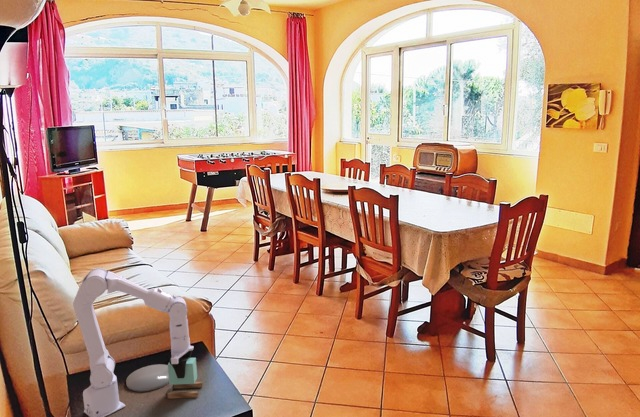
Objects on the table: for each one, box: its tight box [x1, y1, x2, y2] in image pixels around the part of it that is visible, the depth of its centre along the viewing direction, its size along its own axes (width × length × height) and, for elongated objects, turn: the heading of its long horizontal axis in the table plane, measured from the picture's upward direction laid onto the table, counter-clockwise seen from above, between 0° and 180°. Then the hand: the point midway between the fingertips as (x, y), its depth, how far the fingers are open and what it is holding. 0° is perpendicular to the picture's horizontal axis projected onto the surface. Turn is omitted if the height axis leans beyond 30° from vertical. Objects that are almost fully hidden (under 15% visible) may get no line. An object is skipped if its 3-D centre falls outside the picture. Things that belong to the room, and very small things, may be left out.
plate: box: [125, 363, 170, 393], centre depth 159 cm, size 16×16×1 cm
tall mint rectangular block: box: [167, 357, 198, 386], centre depth 149 cm, size 8×4×7 cm, turn 91°
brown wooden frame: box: [164, 381, 204, 400], centre depth 150 cm, size 10×7×2 cm, turn 91°
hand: (183, 374), depth 149 cm, fingers closed on tall mint rectangular block, 4 cm apart
